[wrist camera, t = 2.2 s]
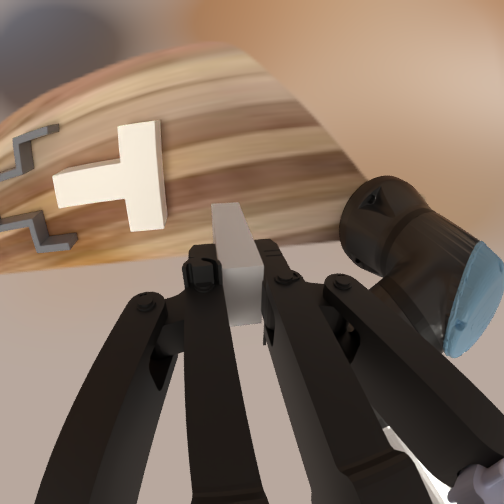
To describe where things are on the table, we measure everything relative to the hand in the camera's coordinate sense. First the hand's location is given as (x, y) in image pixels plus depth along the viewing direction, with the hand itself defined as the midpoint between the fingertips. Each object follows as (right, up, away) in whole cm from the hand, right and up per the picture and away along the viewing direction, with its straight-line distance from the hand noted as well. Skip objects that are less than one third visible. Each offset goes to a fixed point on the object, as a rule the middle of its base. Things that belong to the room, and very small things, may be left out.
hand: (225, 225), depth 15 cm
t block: (-15, +8, +14) cm, 22 cm away
